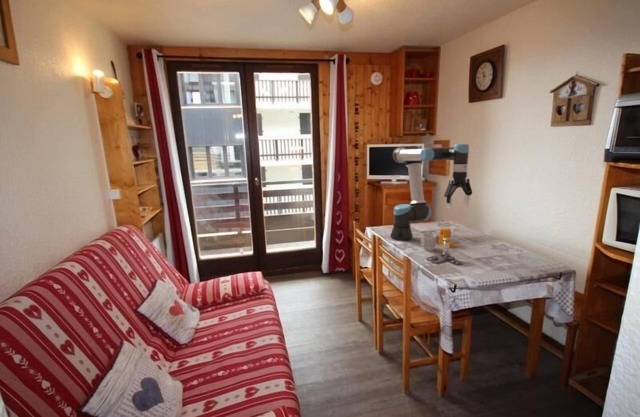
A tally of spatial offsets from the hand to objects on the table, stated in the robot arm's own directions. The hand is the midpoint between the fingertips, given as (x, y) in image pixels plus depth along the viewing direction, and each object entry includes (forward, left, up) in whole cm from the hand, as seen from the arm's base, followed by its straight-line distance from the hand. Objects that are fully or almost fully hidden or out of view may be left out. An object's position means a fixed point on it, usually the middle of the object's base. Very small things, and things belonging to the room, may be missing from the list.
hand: (457, 207), depth 189 cm
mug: (-12, -11, -29) cm, 33 cm away
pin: (+6, -14, -29) cm, 32 cm away
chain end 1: (+6, -18, -27) cm, 33 cm away
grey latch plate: (+10, -14, -29) cm, 33 cm away
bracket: (-11, +5, -29) cm, 31 cm away
